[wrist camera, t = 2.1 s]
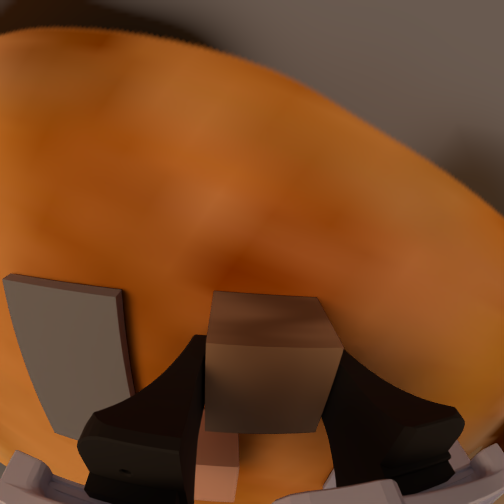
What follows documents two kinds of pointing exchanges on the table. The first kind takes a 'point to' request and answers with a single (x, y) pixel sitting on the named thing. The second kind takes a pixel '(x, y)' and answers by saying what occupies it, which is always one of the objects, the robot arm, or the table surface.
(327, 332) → the walnut brick
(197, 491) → the terracotta brick
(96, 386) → the baseplate
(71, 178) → the table surface
